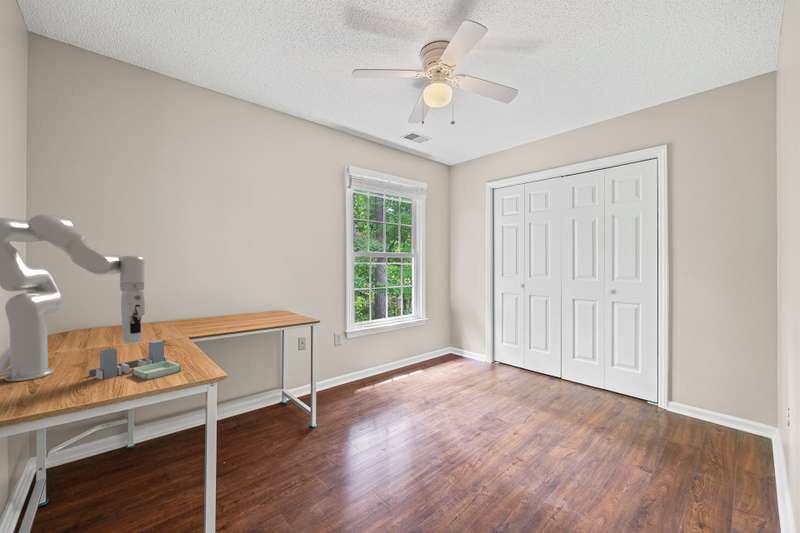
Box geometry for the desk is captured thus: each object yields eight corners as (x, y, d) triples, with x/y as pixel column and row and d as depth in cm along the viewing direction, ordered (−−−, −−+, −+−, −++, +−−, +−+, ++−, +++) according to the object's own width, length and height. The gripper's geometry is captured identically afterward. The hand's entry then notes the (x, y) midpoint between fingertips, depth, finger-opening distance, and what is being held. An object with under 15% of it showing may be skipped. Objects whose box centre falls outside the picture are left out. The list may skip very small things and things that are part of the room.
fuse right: (153, 367, 140) (153, 343, 140) (148, 365, 142) (148, 341, 142) (164, 364, 144) (163, 341, 143) (159, 362, 146) (159, 339, 145)
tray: (145, 380, 125) (145, 373, 125) (132, 374, 131) (132, 368, 131) (180, 371, 135) (180, 365, 135) (167, 366, 141) (167, 360, 141)
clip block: (99, 382, 123) (99, 373, 123) (88, 376, 129) (88, 368, 129) (173, 364, 144) (173, 357, 144) (160, 360, 150) (160, 353, 150)
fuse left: (104, 378, 127) (103, 352, 126) (100, 376, 129) (99, 350, 128) (117, 375, 130) (117, 349, 130) (113, 373, 132) (112, 348, 132)
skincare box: (142, 341, 136) (140, 311, 136) (130, 344, 133) (128, 313, 132) (135, 339, 139) (133, 310, 139) (123, 342, 136) (120, 312, 135)
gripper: (153, 287, 134) (152, 333, 134) (134, 285, 143) (133, 327, 143) (130, 289, 127) (129, 336, 128) (111, 286, 137) (111, 330, 137)
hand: (131, 331), depth 136 cm, fingers closed on skincare box, 6 cm apart
